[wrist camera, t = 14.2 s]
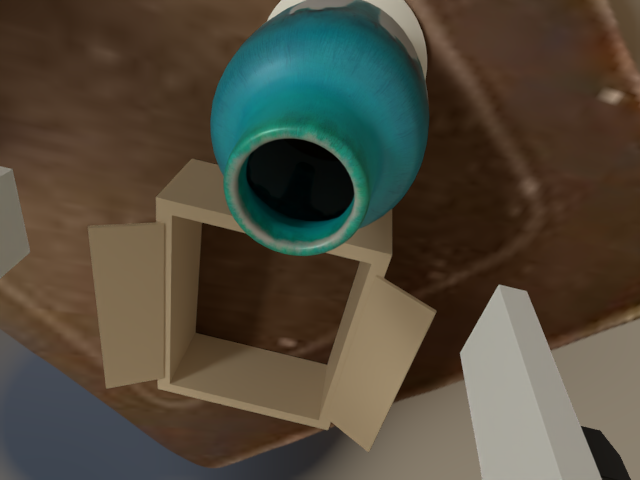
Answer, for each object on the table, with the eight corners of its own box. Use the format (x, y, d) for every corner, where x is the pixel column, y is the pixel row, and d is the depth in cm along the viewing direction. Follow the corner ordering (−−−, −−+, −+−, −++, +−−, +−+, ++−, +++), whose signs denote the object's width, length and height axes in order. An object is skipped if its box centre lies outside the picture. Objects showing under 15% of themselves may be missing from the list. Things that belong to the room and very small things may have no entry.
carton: (151, 329, 50) (106, 401, 42) (147, 147, 38) (82, 201, 30) (368, 382, 50) (364, 464, 42) (436, 218, 38) (447, 291, 30)
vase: (451, 60, 30) (518, 185, 15) (351, 169, 36) (320, 347, 20) (329, -54, 28) (249, -53, 12) (241, 82, 33) (104, 208, 17)
